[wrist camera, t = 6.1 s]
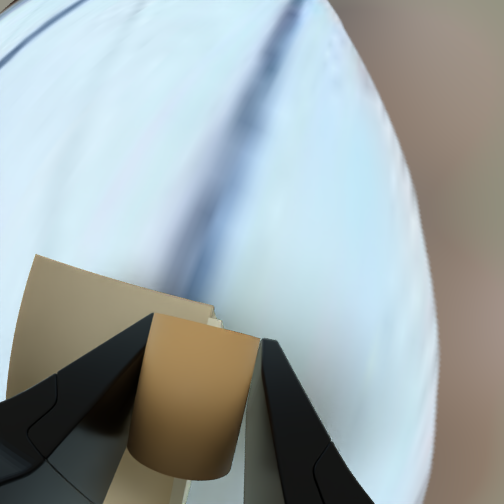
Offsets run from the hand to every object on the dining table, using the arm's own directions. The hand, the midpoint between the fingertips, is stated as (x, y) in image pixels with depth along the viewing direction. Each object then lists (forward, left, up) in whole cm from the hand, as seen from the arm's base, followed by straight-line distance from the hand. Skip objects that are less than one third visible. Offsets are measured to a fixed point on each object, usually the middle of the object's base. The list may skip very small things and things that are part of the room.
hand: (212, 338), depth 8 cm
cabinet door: (-2, -3, -7) cm, 8 cm away
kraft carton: (-6, -1, -12) cm, 13 cm away
